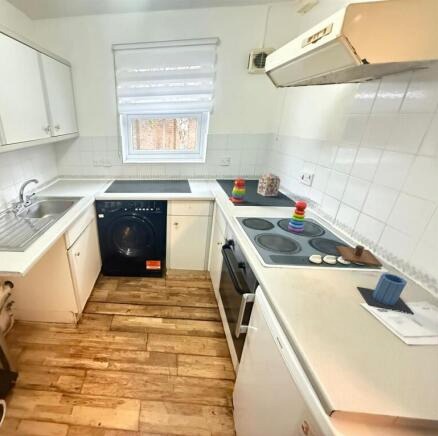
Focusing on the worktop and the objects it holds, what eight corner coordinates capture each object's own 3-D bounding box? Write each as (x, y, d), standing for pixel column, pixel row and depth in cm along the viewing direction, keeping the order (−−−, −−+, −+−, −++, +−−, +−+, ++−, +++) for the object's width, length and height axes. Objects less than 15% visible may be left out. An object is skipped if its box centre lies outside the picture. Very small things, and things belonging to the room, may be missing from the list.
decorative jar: (277, 196, 196) (282, 174, 189) (264, 196, 194) (268, 175, 187) (268, 192, 207) (273, 171, 200) (256, 192, 205) (260, 172, 198)
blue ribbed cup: (389, 295, 86) (400, 275, 82) (399, 307, 80) (410, 286, 77) (369, 291, 88) (378, 271, 84) (377, 303, 82) (387, 282, 79)
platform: (366, 255, 112) (371, 242, 109) (379, 270, 100) (386, 256, 98) (333, 250, 116) (338, 237, 113) (343, 264, 105) (348, 251, 102)
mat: (396, 295, 87) (397, 294, 87) (413, 314, 78) (414, 313, 78) (356, 287, 91) (357, 286, 90) (368, 305, 82) (368, 304, 82)
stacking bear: (227, 198, 190) (231, 176, 183) (239, 198, 191) (243, 176, 184) (234, 203, 180) (237, 180, 173) (246, 202, 181) (250, 179, 174)
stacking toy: (286, 228, 139) (294, 198, 132) (302, 231, 135) (311, 200, 128) (285, 233, 133) (293, 202, 125) (302, 237, 129) (311, 204, 122)
